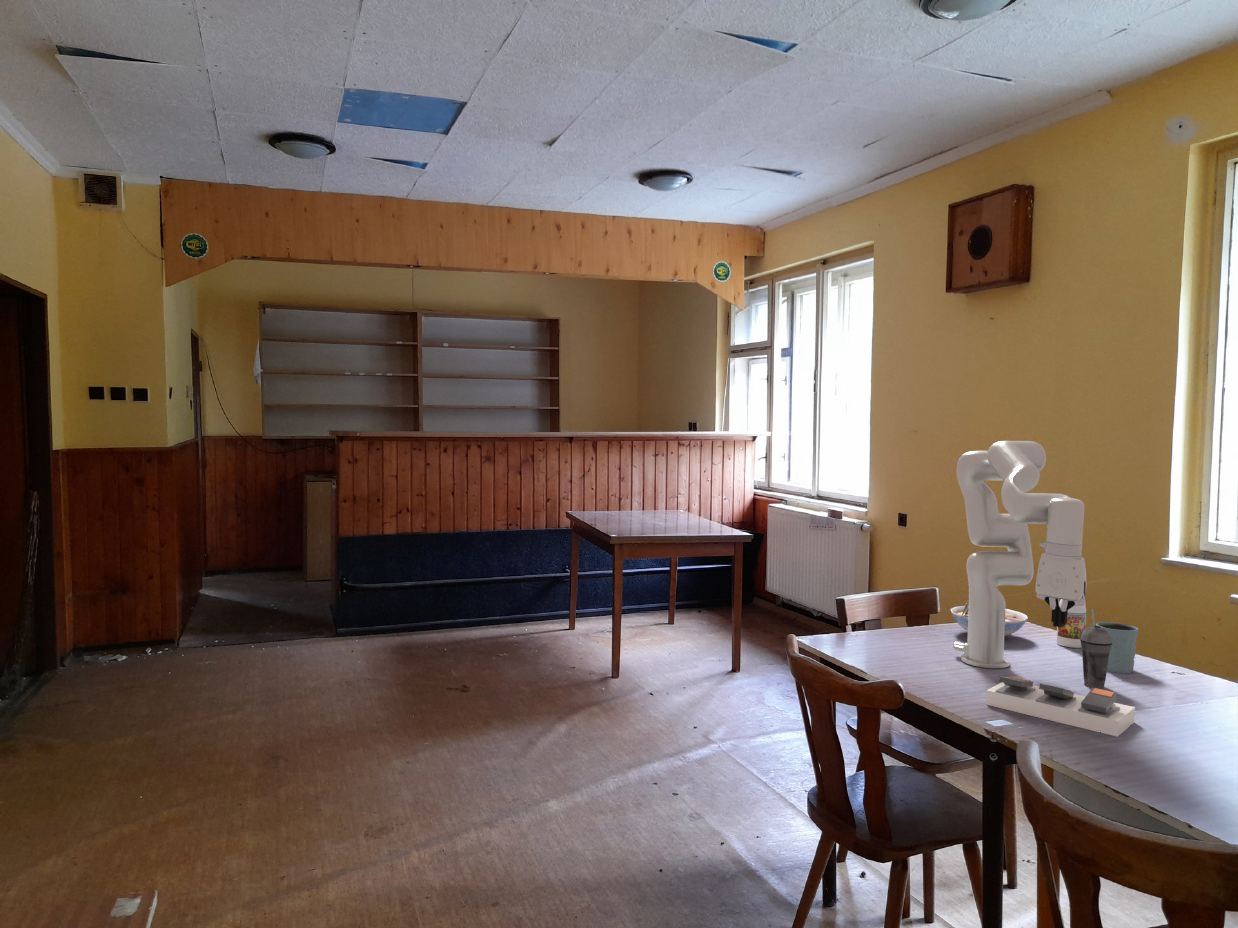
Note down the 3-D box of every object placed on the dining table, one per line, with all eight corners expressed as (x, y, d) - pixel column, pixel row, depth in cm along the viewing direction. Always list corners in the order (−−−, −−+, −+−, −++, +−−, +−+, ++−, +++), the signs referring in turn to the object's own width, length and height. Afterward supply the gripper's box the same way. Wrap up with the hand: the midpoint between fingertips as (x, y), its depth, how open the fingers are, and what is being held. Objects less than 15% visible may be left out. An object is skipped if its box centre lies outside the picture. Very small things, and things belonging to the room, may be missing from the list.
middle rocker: (1038, 692, 194) (1039, 682, 194) (1049, 695, 199) (1051, 686, 200) (1061, 697, 190) (1063, 687, 191) (1072, 700, 196) (1074, 691, 196)
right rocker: (1081, 710, 188) (1081, 701, 187) (1092, 695, 193) (1092, 687, 193) (1106, 716, 184) (1106, 707, 184) (1117, 701, 190) (1117, 692, 189)
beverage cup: (1114, 690, 214) (1118, 613, 213) (1083, 688, 216) (1086, 611, 215) (1104, 682, 221) (1107, 607, 220) (1074, 680, 223) (1077, 605, 222)
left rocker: (998, 684, 200) (999, 675, 200) (1010, 685, 206) (1011, 676, 206) (1020, 689, 197) (1021, 680, 197) (1032, 689, 202) (1033, 680, 202)
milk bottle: (1051, 641, 263) (1053, 578, 262) (1074, 641, 263) (1077, 578, 262) (1066, 648, 255) (1069, 583, 254) (1090, 648, 256) (1093, 583, 255)
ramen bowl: (1024, 649, 253) (1025, 622, 252) (943, 639, 264) (944, 613, 264) (1029, 632, 275) (1030, 607, 274) (955, 623, 286) (955, 599, 285)
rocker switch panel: (986, 704, 202) (986, 688, 202) (1007, 692, 211) (1007, 677, 211) (1117, 736, 182) (1118, 718, 182) (1134, 722, 191) (1135, 705, 191)
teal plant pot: (1097, 671, 232) (1099, 627, 231) (1091, 661, 241) (1093, 620, 241) (1139, 675, 228) (1141, 631, 227) (1132, 665, 237) (1134, 623, 237)
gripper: (1024, 547, 202) (1020, 622, 204) (1093, 556, 191) (1087, 635, 193) (1036, 543, 207) (1032, 617, 209) (1103, 552, 197) (1098, 629, 198)
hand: (1058, 625), depth 201 cm, fingers closed
